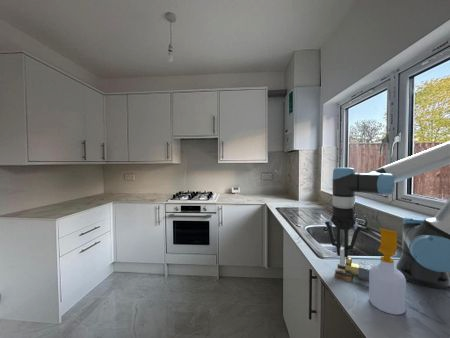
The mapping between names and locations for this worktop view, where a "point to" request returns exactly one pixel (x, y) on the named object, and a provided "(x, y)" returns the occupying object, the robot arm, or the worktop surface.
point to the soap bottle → (387, 278)
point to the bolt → (351, 267)
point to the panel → (351, 278)
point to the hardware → (363, 270)
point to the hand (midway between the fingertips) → (342, 264)
